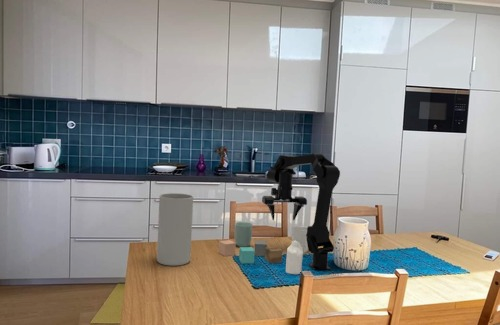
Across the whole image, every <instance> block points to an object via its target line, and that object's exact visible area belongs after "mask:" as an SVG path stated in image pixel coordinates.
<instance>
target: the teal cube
mask: <svg viewBox="0 0 500 325" xmlns="http://www.w3.org/2000/svg"><path fill="white" fill-rule="evenodd" d="M238 248H239V249H238V250H239V251H238V252H239V253H238V261H239V262H240V264H241V265H243V264H255V251H254V250H255V248H253V247H252V246H247V247H238Z"/></svg>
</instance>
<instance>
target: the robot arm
mask: <svg viewBox="0 0 500 325" xmlns="http://www.w3.org/2000/svg"><path fill="white" fill-rule="evenodd" d="M304 165H312V166H311V167H312V170H313V172H314V173H315V174H316V183H317V186H318V188H319V189H318V194H317V200H316V208H315V214H314V220H313V224H312V225H309V226H307V227H308V228H307V234H306V237H307V244H308V252H309V253H310V254H312V261H311V262H310V263H308V266H310V267H311V268H312V269H313V270H315V271H325V270H327V271H331V267H329V266H328V259H329V253H333V252H334V251H335V250H334V249H335V246H334V244H333V242H332V241H331V239H330V231H329V228H328V218H329V213H330V206H331V201H332V200H331V199H332V194H333V190H334V189H335V187H336V186H337V184H338V182H339V180H340V176H341V171H340V170H339V168H338V167H337V166H336V165H335V163H333V162H332V161H330V159H328V158H326V157H325V155H324V154H323V153H318V152H317V153H315V152H313V153H311V154H303V155H289V154H288V155H287V154H281V155H279V156H278V158H277V159H276V161H275V164H274V165H273V166H270V169H269V170H268V171H267V172H266V179H267V181H268V182H272V183H277V184H278V185H277V188H276V187H272V188H271V190H270V195H263V196H262V198H261V199H262V200H261V202H262V203H263V204H264V205H266V206H267V207H268V210H269V212H270V215H271V219H272V221H274V220H275V204H274V203H293V213H292V221H295V220H296V218H297V216H298V214H299V212H300V210H301V209H302V207H305V206H306V205H308V200H307V198H306V197H304V196H294V198H293V197H292V195H293V194H292V192H293V175H294V176H295V175H297V173H296V171H295V170H294V168H295V169H296V168H297V167H299V166H304Z"/></svg>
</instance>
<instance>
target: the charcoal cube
mask: <svg viewBox="0 0 500 325" xmlns="http://www.w3.org/2000/svg"><path fill="white" fill-rule="evenodd" d="M266 247H268V241H265V240H254V251H255V256H257V257H258V256H259V257H265V249H266ZM255 256H254V257H255Z"/></svg>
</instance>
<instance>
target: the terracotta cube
mask: <svg viewBox="0 0 500 325" xmlns="http://www.w3.org/2000/svg"><path fill="white" fill-rule="evenodd" d="M218 244H219V245H218V254H220V255H222V256H223V257H229V256H236V246H237V245H236V243H235V241H232V240H230V239H228V240H220V241H218Z"/></svg>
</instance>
